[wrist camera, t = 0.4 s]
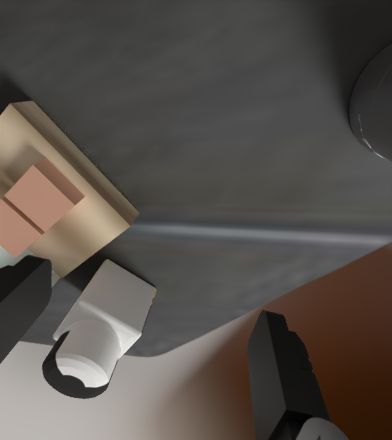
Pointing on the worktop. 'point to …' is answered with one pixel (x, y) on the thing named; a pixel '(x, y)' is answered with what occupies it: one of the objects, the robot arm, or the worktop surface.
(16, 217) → the tile
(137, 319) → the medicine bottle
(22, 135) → the wooden slab
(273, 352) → the robot arm
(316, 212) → the worktop surface
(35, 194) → the tile
